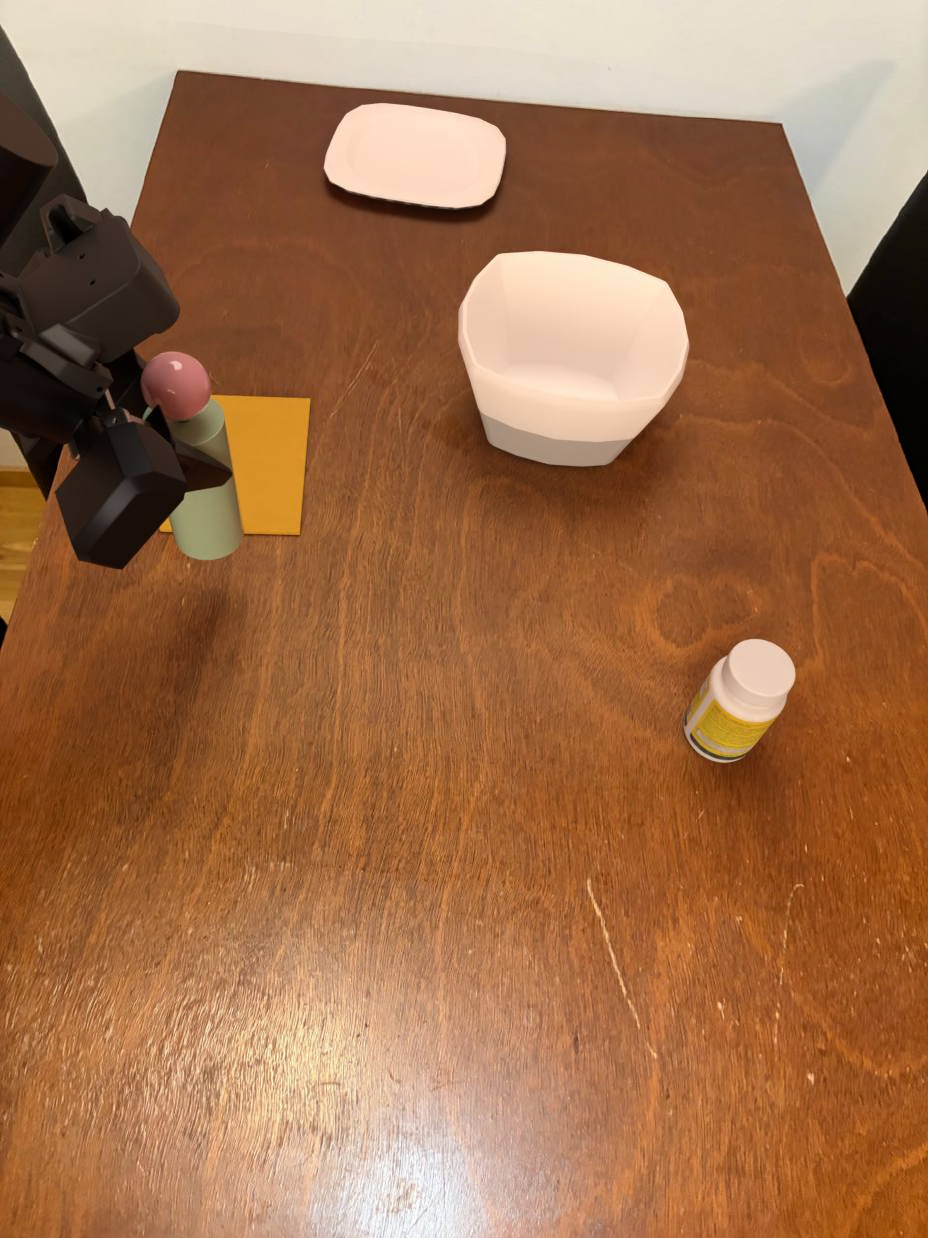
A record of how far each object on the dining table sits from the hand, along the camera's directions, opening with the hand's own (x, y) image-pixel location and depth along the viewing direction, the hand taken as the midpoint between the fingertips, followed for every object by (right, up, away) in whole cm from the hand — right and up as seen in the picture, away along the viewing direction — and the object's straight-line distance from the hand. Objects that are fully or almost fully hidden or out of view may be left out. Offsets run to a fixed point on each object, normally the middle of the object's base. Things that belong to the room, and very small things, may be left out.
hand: (215, 450), depth 52 cm
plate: (+10, +38, +42) cm, 57 cm away
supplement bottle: (+31, -17, +7) cm, 37 cm away
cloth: (-3, +2, +17) cm, 17 cm away
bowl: (+22, +7, +23) cm, 33 cm away
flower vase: (-2, -4, +5) cm, 7 cm away
